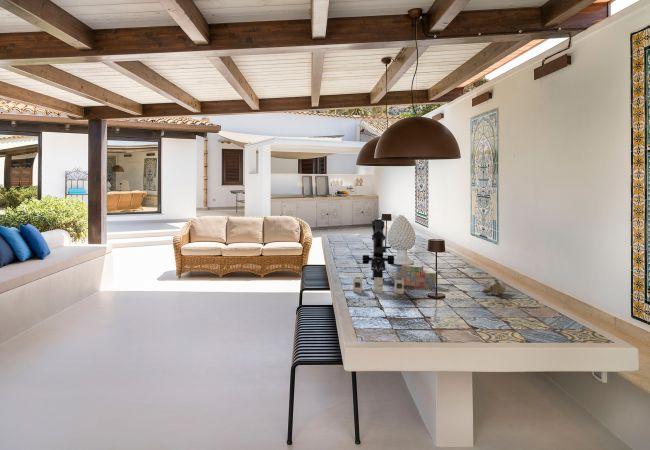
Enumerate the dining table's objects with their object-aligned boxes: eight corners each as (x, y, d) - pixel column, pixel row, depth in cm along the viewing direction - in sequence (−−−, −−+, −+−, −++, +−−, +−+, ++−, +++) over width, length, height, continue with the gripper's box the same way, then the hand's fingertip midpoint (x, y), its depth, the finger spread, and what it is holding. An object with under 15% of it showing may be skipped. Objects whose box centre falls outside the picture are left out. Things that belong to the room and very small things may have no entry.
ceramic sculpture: (510, 278, 277) (498, 284, 267) (510, 293, 279) (498, 299, 268) (492, 276, 285) (480, 281, 274) (492, 290, 286) (480, 296, 275)
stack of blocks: (437, 286, 297) (438, 266, 295) (434, 288, 291) (435, 268, 290) (404, 283, 307) (404, 263, 305) (400, 284, 301) (401, 265, 300)
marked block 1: (353, 290, 285) (353, 276, 285) (361, 290, 285) (362, 277, 284) (353, 292, 280) (353, 278, 279) (361, 292, 280) (361, 278, 279)
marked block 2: (394, 291, 283) (394, 277, 282) (403, 291, 283) (403, 277, 282) (394, 293, 278) (395, 279, 277) (403, 293, 277) (403, 279, 277)
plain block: (373, 291, 284) (374, 277, 283) (382, 291, 284) (382, 277, 283) (373, 293, 279) (374, 279, 279) (382, 293, 279) (382, 279, 278)
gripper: (362, 241, 287) (362, 262, 277) (394, 241, 285) (395, 263, 275) (362, 252, 295) (362, 273, 285) (393, 253, 294) (394, 274, 283)
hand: (378, 271), depth 282 cm, fingers closed
